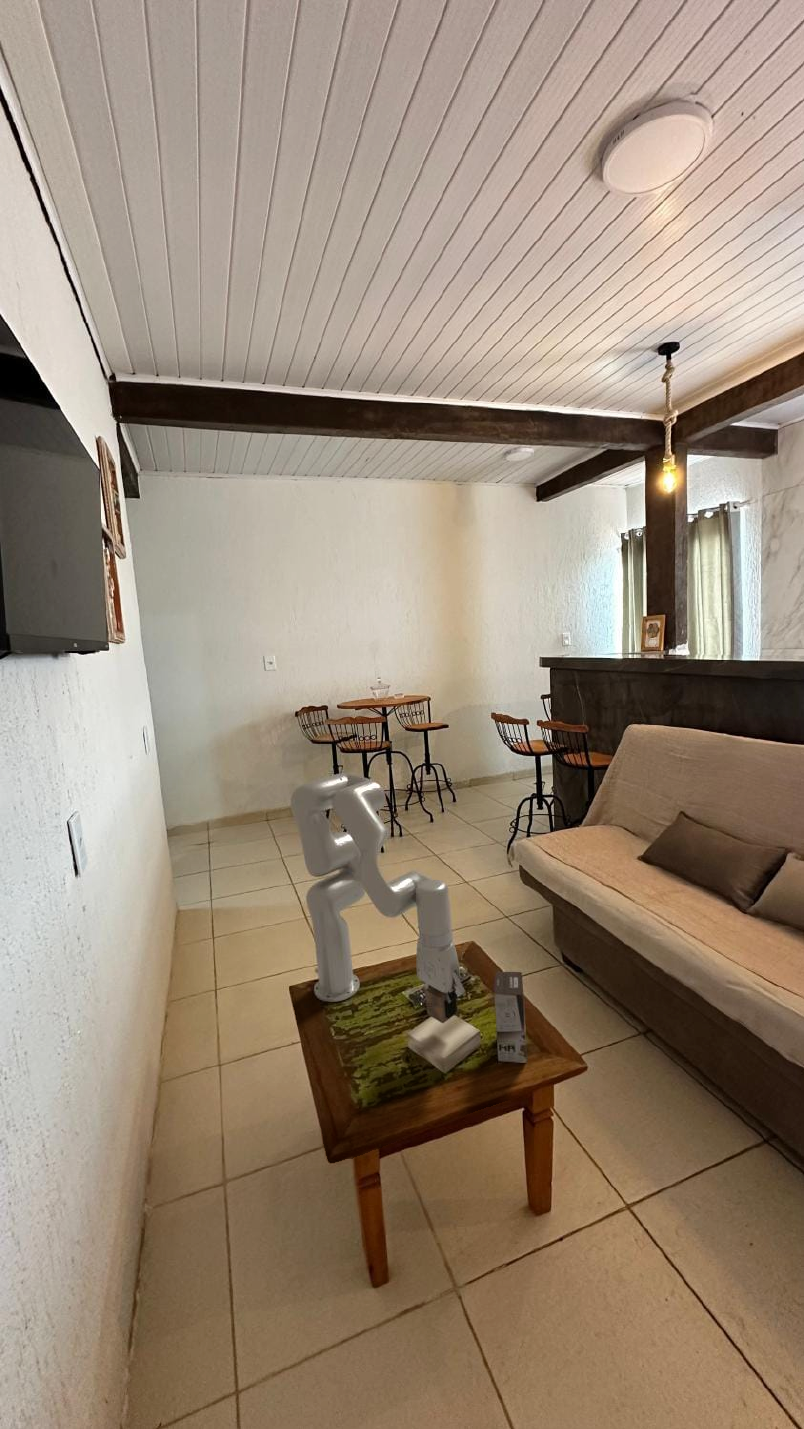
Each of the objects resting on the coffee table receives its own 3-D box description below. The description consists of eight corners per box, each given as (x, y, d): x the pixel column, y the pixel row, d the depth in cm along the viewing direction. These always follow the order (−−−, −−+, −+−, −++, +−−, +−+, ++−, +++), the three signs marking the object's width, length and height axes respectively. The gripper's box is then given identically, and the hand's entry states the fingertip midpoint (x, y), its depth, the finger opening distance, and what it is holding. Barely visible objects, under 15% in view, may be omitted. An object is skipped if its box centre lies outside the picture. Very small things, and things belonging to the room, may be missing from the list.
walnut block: (427, 1014, 129) (425, 989, 128) (442, 1003, 132) (440, 980, 132) (442, 1023, 125) (440, 998, 125) (457, 1012, 129) (455, 988, 128)
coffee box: (527, 1063, 122) (523, 995, 120) (497, 1061, 124) (493, 994, 122) (526, 1035, 131) (522, 971, 129) (499, 1033, 133) (494, 970, 131)
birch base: (408, 1048, 131) (407, 1033, 130) (444, 1023, 138) (443, 1008, 138) (445, 1075, 122) (444, 1058, 121) (481, 1046, 129) (480, 1030, 129)
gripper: (399, 930, 131) (405, 1002, 133) (451, 955, 118) (458, 1035, 120) (422, 918, 136) (428, 988, 138) (475, 941, 123) (481, 1018, 125)
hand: (442, 1009), depth 129 cm, fingers closed on walnut block, 5 cm apart
